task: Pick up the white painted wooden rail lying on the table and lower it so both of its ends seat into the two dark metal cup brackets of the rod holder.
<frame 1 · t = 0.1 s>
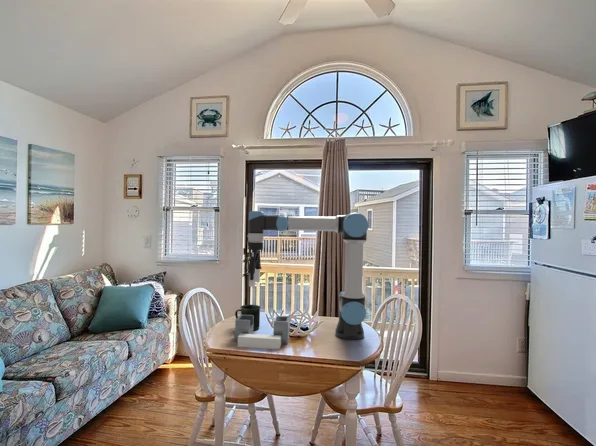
hand: (254, 284, 175), 28 cm above the table, fingers open, 13 cm apart
mug: (247, 328, 194), on the table
brackets: (262, 339, 176), on the table
rail: (259, 346, 166), on the table
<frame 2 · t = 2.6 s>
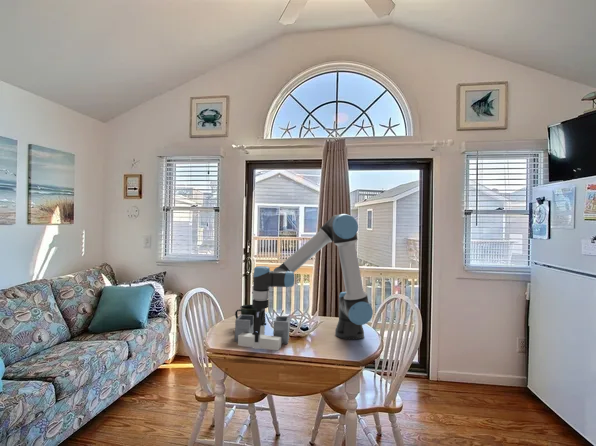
hand: (259, 343, 166), 1 cm above the table, fingers open, 13 cm apart
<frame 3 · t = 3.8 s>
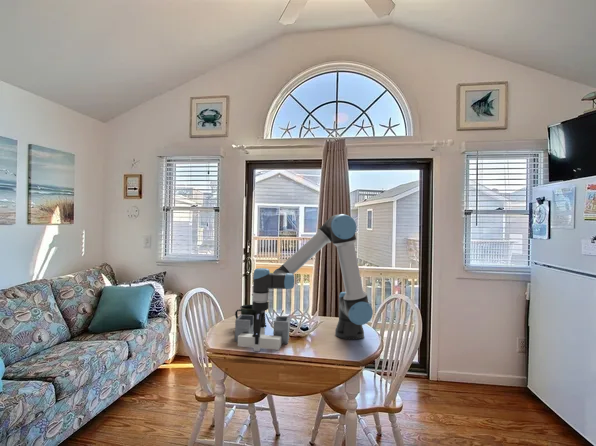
hand: (259, 345, 166), 0 cm above the table, fingers open, 13 cm apart
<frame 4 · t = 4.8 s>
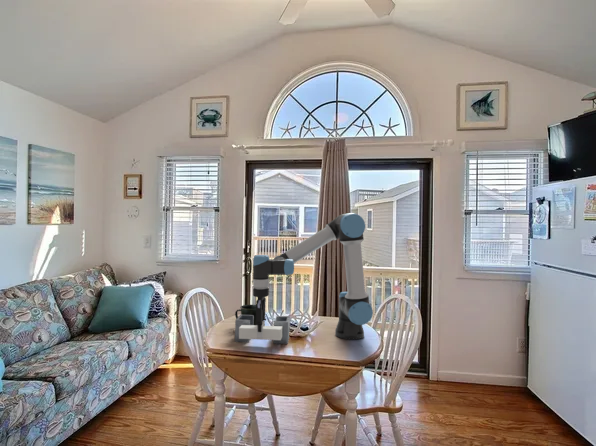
hand: (260, 336, 166), 5 cm above the table, fingers closed on rail, 5 cm apart
rail: (260, 337, 166), point 4 cm above the table, touching gripper
everything else where it was.
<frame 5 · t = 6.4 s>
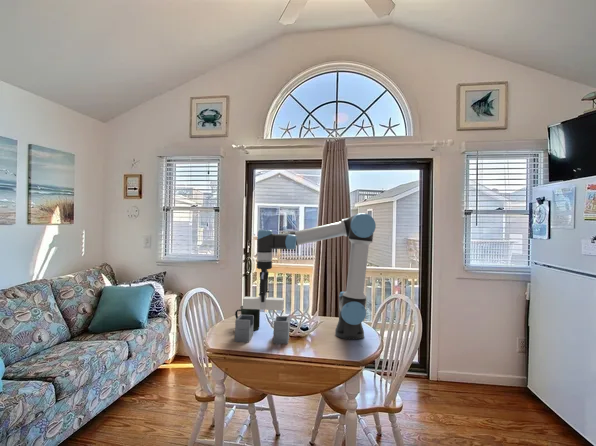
hand: (263, 307, 175), 17 cm above the table, fingers closed on rail, 5 cm apart
rail: (263, 308, 175), point 16 cm above the table, touching gripper
everything else where it was.
when the fingers open (8 cm above the table, at t = 8.3 s): rail drops 1 cm, resting on brackets.
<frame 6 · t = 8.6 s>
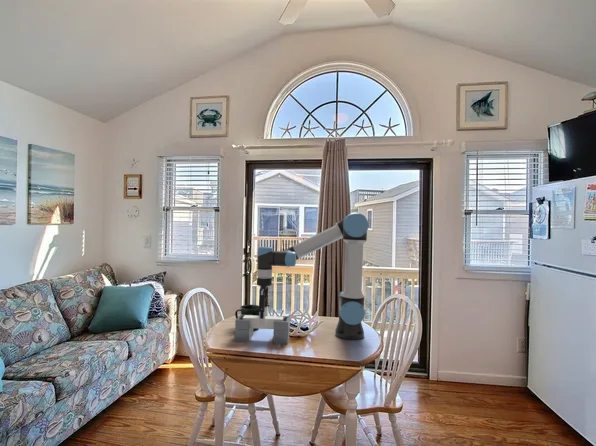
hand: (263, 322, 176), 9 cm above the table, fingers open, 8 cm apart
rail: (263, 327, 176), point 6 cm above the table, touching brackets
everything else where it was.
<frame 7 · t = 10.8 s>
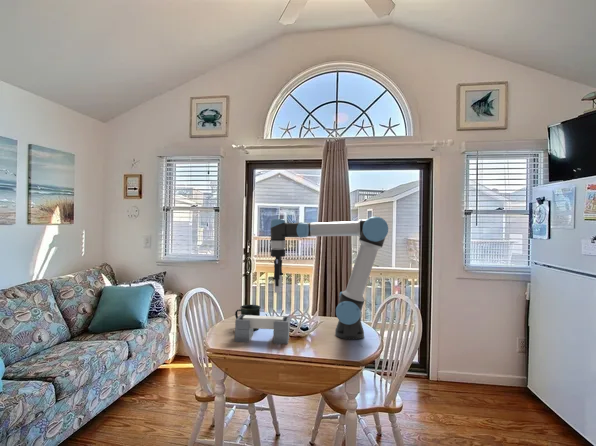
hand: (278, 290, 180), 24 cm above the table, fingers open, 13 cm apart
nothing on the table moved.
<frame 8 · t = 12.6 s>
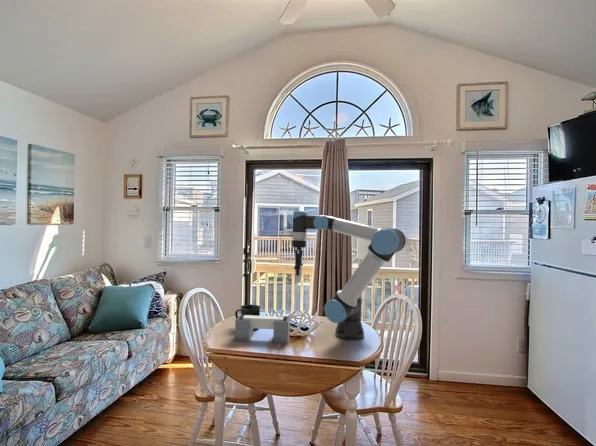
hand: (298, 279, 187), 29 cm above the table, fingers open, 13 cm apart
nothing on the table moved.
at the end: rail 0.1 cm off-centre on the brackets, point 6.0 cm above the brackets's base; rail tilted 0°; the gripper is holding nothing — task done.
